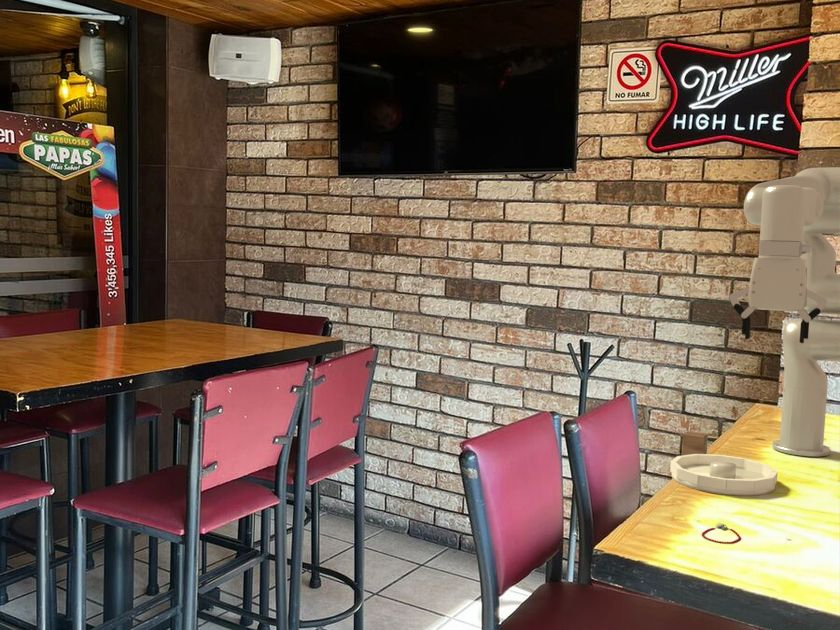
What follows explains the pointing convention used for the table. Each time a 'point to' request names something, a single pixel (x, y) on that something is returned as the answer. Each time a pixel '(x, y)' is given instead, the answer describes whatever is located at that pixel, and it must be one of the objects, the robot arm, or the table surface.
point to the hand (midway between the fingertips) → (774, 340)
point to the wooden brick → (694, 443)
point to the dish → (738, 486)
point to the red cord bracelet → (722, 529)
